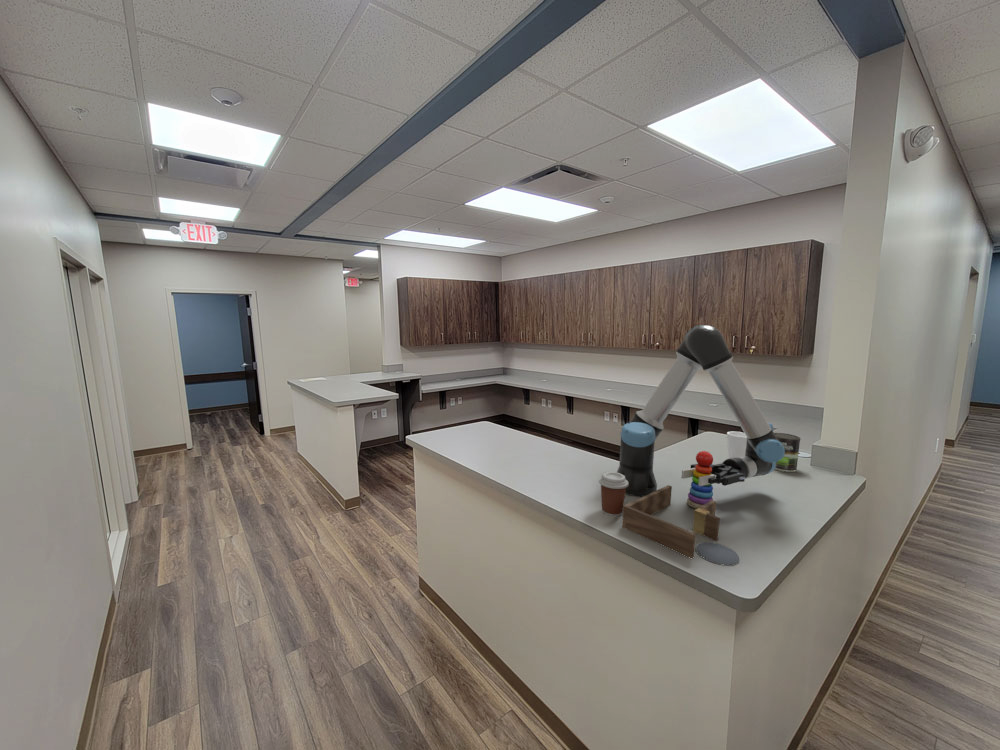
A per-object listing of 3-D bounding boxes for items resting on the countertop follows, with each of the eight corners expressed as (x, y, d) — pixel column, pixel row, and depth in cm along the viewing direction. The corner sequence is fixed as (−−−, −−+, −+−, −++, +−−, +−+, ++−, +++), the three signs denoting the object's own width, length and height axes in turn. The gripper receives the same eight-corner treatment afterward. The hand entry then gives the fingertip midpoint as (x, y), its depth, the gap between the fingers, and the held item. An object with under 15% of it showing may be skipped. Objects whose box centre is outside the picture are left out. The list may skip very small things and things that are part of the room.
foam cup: (754, 466, 171) (756, 437, 169) (732, 466, 171) (735, 437, 169) (741, 459, 180) (743, 431, 178) (720, 459, 180) (722, 431, 179)
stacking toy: (716, 512, 128) (722, 456, 125) (690, 510, 129) (694, 454, 127) (709, 502, 135) (714, 449, 133) (684, 499, 137) (688, 447, 134)
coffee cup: (592, 511, 127) (593, 475, 126) (605, 502, 134) (607, 468, 133) (619, 521, 121) (621, 483, 120) (631, 511, 128) (633, 475, 127)
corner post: (703, 535, 114) (705, 514, 113) (692, 531, 116) (694, 510, 115) (708, 532, 115) (709, 511, 115) (697, 528, 118) (699, 507, 117)
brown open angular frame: (691, 559, 102) (693, 535, 101) (622, 526, 118) (623, 505, 117) (733, 528, 118) (735, 507, 117) (667, 503, 134) (668, 485, 133)
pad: (700, 561, 101) (700, 559, 101) (692, 541, 111) (692, 539, 111) (744, 568, 98) (744, 566, 98) (732, 547, 108) (733, 545, 108)
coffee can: (795, 474, 163) (798, 440, 161) (765, 467, 170) (768, 435, 168) (798, 467, 170) (802, 435, 168) (769, 462, 177) (773, 431, 175)
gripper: (764, 489, 130) (716, 500, 121) (713, 469, 147) (667, 478, 138) (767, 467, 129) (718, 477, 120) (715, 450, 147) (668, 457, 137)
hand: (691, 477), depth 129 cm, fingers closed on stacking toy, 6 cm apart
